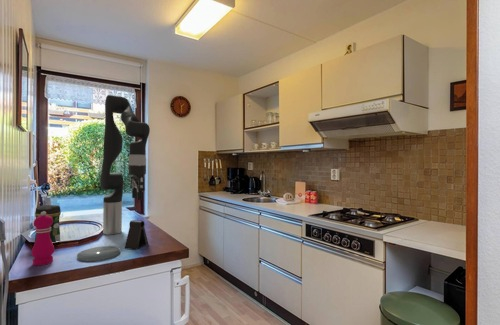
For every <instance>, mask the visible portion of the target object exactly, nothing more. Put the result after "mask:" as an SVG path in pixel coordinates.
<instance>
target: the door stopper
mask: <svg viewBox="0 0 500 325" xmlns="http://www.w3.org/2000/svg"><path fill="white" fill-rule="evenodd" d="M148 241H149V240H148V237H147V232H146V229H145V221H144V220H135V219H132V220H130V221H129V229H128V232H127V237H126V241H125V245H124V249H126V250H139V249H142V248H144V247H146V246H148V245H149V242H148Z"/></svg>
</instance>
